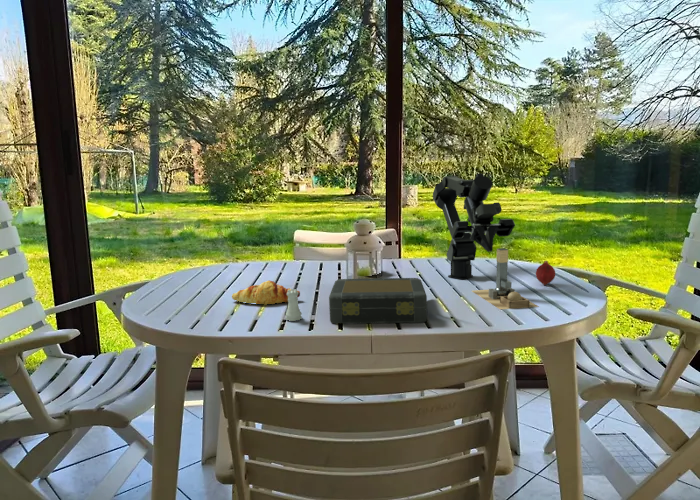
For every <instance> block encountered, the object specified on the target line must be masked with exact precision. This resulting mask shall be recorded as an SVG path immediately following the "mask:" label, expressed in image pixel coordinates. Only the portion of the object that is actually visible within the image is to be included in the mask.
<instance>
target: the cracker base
mask: <svg viewBox="0 0 700 500" xmlns="http://www.w3.org/2000/svg"><path fill="white" fill-rule="evenodd" d="M508 291H509V294H510V293H511V292H516V291H515V289H514V288H512V287H511V288H508ZM471 292H472V293H473V294H475V295H477V296H479V297H480V298H481V299H483V300H484V301H486V302H488V303H489V304H491V305H492V306H493V307H495V308H497V309H499V310H511V309H512V310H513V309H523V308H525V309H526V308H539V307H540V305H537V304H536V303H533V302H531V300H529V299H528V298H526V297H524V296H522V295H521V297H522V300H520V301H509V300H508V296H498V297H497V291H496V290H495V288H488V289H479V290H475V289H473V290H471ZM509 294H508V295H509Z"/></svg>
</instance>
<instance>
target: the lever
mask: <svg viewBox="0 0 700 500" xmlns="http://www.w3.org/2000/svg"><path fill="white" fill-rule="evenodd" d="M508 263H509V248H505V247H503V248H502V247H501V248H496V278H495V279H496V282H495V286H496V287H495V288H494V289H495V290H496V291H497V297H498V296H508V294H509V291H508V288H512V282H511V281H510V280H508V267H509V265H508Z"/></svg>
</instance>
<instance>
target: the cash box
mask: <svg viewBox="0 0 700 500" xmlns="http://www.w3.org/2000/svg"><path fill="white" fill-rule="evenodd" d="M427 301H428V295H427V293H426V291H425V288H424V284H423V282H422V280H421V278H418V277H391V278H390V277H388V278H387V277H384V278H339V279H336V280H335V281H334V284H333V286H332V288H331V291H330V294H329V296H328V303H329V307H328V308H329V322H330V323H331V324H334V323H357V324H421V323H426V322H427V320H428V314H427V313H428V309H427V308H428V306H427V305H428V304H427V303H428V302H427Z"/></svg>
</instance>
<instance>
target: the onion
mask: <svg viewBox="0 0 700 500" xmlns="http://www.w3.org/2000/svg"><path fill="white" fill-rule="evenodd" d="M548 262H549V261H548V260H544V261H543V263H542V264H540V265H539V266H538V267H537V269H536V271H535V276H536V279H537V280H538V282H540V283H541V284H542V285H544V286H546V285H549V284H550V283H551V282H553V280H554V279H555V277H556V270H555V268H554V267H553V266H552V265H551V264H549V263H548Z"/></svg>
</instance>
